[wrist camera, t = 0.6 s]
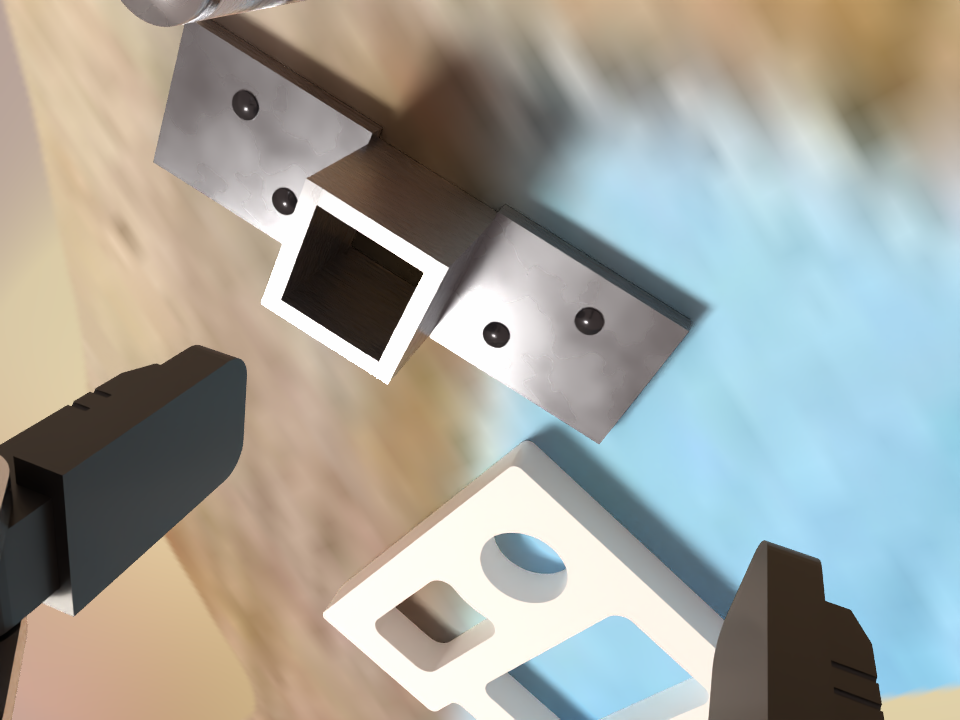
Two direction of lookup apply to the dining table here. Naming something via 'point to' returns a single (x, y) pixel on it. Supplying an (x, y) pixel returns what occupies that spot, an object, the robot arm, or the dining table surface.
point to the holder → (524, 596)
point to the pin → (194, 9)
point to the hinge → (403, 243)
